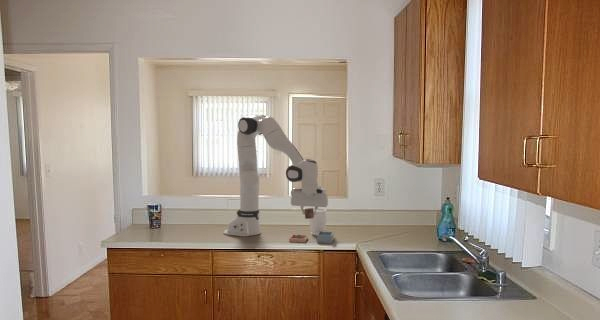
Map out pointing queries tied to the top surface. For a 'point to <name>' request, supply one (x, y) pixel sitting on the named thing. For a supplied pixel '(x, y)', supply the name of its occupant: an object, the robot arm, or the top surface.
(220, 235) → the top surface
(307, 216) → the block
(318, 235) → the grey open box
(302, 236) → the dish
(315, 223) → the jar
